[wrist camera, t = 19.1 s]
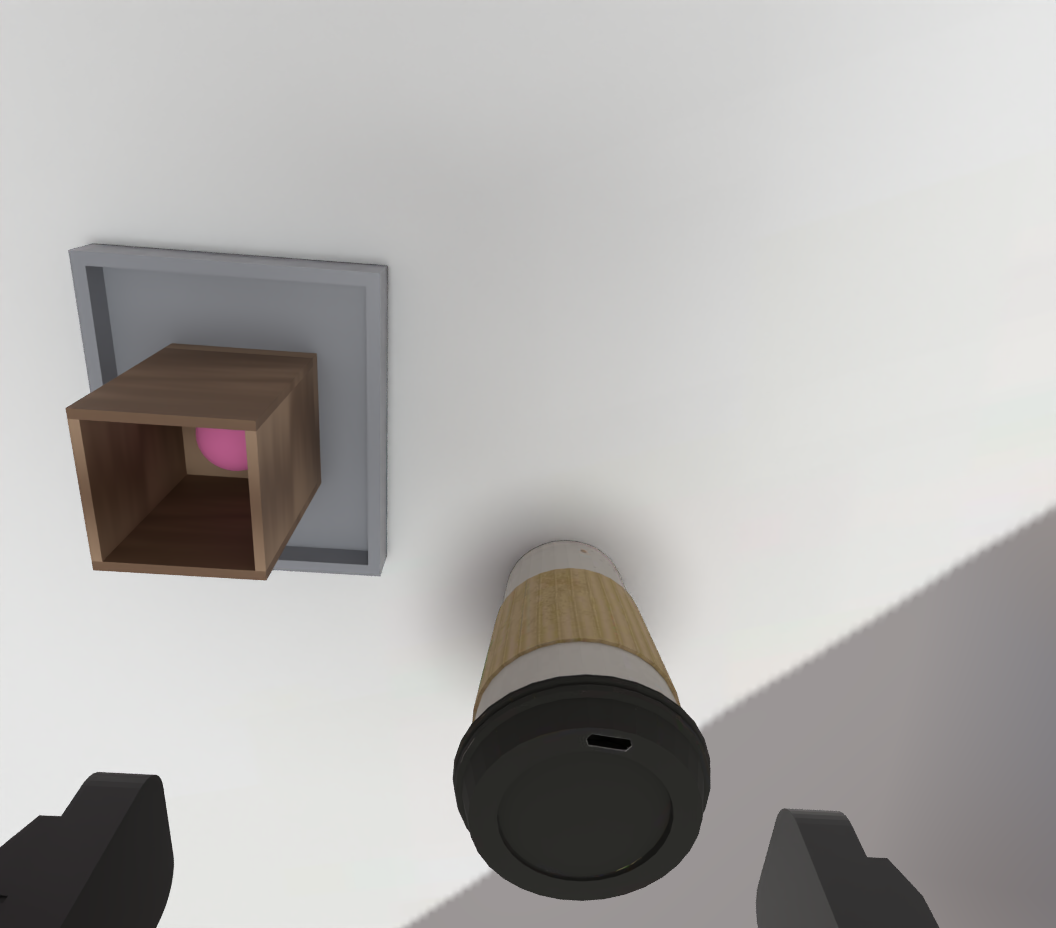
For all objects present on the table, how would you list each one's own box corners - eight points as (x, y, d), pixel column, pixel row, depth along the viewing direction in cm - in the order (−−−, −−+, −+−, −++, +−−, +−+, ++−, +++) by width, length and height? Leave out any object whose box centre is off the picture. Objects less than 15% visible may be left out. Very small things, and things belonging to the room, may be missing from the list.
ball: (202, 386, 35) (184, 402, 32) (280, 389, 36) (270, 404, 33) (206, 458, 36) (189, 480, 33) (282, 459, 37) (272, 480, 34)
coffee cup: (458, 650, 43) (429, 895, 29) (490, 493, 39) (473, 690, 26) (630, 677, 44) (679, 927, 30) (677, 527, 40) (758, 734, 26)
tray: (92, 243, 34) (68, 249, 32) (387, 265, 35) (380, 273, 33) (135, 540, 40) (116, 560, 38) (386, 556, 41) (380, 576, 39)
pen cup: (171, 343, 35) (65, 408, 27) (316, 353, 36) (255, 420, 27) (185, 474, 38) (93, 570, 30) (321, 483, 38) (266, 580, 30)
